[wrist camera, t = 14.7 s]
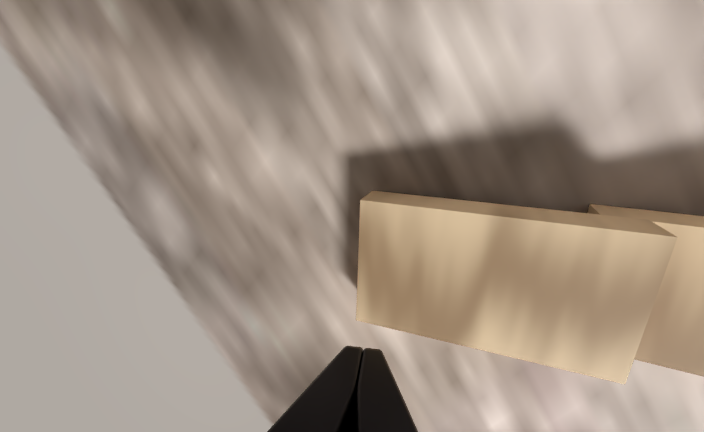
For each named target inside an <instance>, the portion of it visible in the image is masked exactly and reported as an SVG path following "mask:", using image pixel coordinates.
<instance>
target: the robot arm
mask: <svg viewBox="0 0 704 432" xmlns="http://www.w3.org/2000/svg"><path fill="white" fill-rule="evenodd" d="M268 432H418V430H417V428H416V426H415V424H414V422H413V419H412V417H411V415H410V413H409V410H408V408H407V406H406V404H405V401H404V399H403V397H402V395H401V393H400V390H399V388H398V386H397V384H396V381H395V379H394V377H393V375H392V372H391V370H390V368H389V366H388V363H387V361H386V359H385V357H384V355H383V352H382V351H381V350H379V349H371V348H365V349H364V350H363V349H362V348H361V347H354V346H346V347H344V348H343V349H342V350H341V352H340V353H339V354H338V355H337V356H336V357H335V358H334V359H333V360H332V361H331V363H330V364H329V365H328V366H327V367H326V368H325V369H324V370H323V371H322V372H321V373H320V375H319V376H318V377H317V378H316V379H315V380H314V381H313V382H312V383H311V384H310V386H309V387H308V388H307V389H306V390H305V391H304V392H303V393H302V394H301V395H300V396H299V398H298V399H297V400H296V401H295V402H294V403H293V404H292V405H291V406H290V407H289V409H288V410H287V411H286V412H285V413H284V414H283V415H282V416H281V417H280V418H279V419H278V421H277V422H276V423H275V424H274V425H273V426H272V427H271V428H270V429H269V430H268Z"/></svg>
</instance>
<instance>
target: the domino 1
mask: <svg viewBox="0 0 704 432" xmlns="http://www.w3.org/2000/svg"><path fill="white" fill-rule="evenodd" d="M677 238H678V237H677V236H675V235H673V234H672V233H670V232H668V231H667V230H665V229H663V228H662V227H660V226H658V225H657V224H655V223H653V222H652V221H650V220H646V219H636V218H627V217H618V216H608V215H599V214H589V213H580V212H570V211H561V210H551V209H542V208H532V207H523V206H513V205H504V204H494V203H485V202H476V201H466V200H457V199H447V198H438V197H428V196H419V195H409V194H400V193H390V192H381V191H372V192H370V193H369V194H368V195H366V196H365V197H364V198H362V199H361V200H360V220H359V249H358V279H357V308H356V320H358V321H362V322H366V323H370V324H374V325H379V326H383V327H387V328H391V329H395V330H400V331H404V332H408V333H412V334H416V335H420V336H425V337H429V338H433V339H437V340H441V341H446V342H450V343H454V344H458V345H462V346H466V347H471V348H475V349H479V350H483V351H487V352H492V353H496V354H500V355H504V356H508V357H513V358H517V359H521V360H525V361H529V362H533V363H538V364H542V365H546V366H550V367H554V368H559V369H563V370H567V371H571V372H575V373H579V374H584V375H588V376H592V377H596V378H600V379H605V380H609V381H613V382H617V383H621V384H625V383H626V381H627V378H628V375H629V372H630V369H631V366H632V364H633V361H634V358H635V355H636V352H637V350H638V347H639V344H640V341H641V338H642V336H643V333H644V330H645V327H646V324H647V322H648V319H649V316H650V313H651V310H652V308H653V305H654V302H655V299H656V296H657V294H658V291H659V288H660V285H661V282H662V280H663V277H664V274H665V271H666V268H667V266H668V263H669V260H670V257H671V254H672V252H673V249H674V246H675V243H676V240H677Z"/></svg>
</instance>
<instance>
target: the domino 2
mask: <svg viewBox="0 0 704 432" xmlns="http://www.w3.org/2000/svg"><path fill="white" fill-rule="evenodd" d="M587 213H589V214H599V215H608V216H618V217H627V218H636V219H646V220H650V221H652V222H653V223H655V224H657V225H658V226H660V227H662V228H663V229H665V230H667V231H668V232H670V233H672V234H673V235H675V236H677V237H678V238H677V240H676V243H675V246H674V249H673V252H672V254H671V257H670V260H669V263H668V266H667V268H666V271H665V274H664V277H663V280H662V282H661V285H660V288H659V291H658V294H657V296H656V299H655V302H654V305H653V308H652V310H651V313H650V316H649V319H648V322H647V324H646V327H645V330H644V333H643V336H642V338H641V341H640V344H639V347H638V350H637V352H636V355H635V358H634V359H635V360H639V361H643V362H647V363H651V364H655V365H659V366H663V367H667V368H672V369H676V370H680V371H684V372H688V373H692V374H696V375H700V376H704V216H697V215H688V214H679V213H669V212H660V211H651V210H642V209H633V208H623V207H614V206H605V205H596V204H590V205H589V209H588V212H587Z"/></svg>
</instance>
